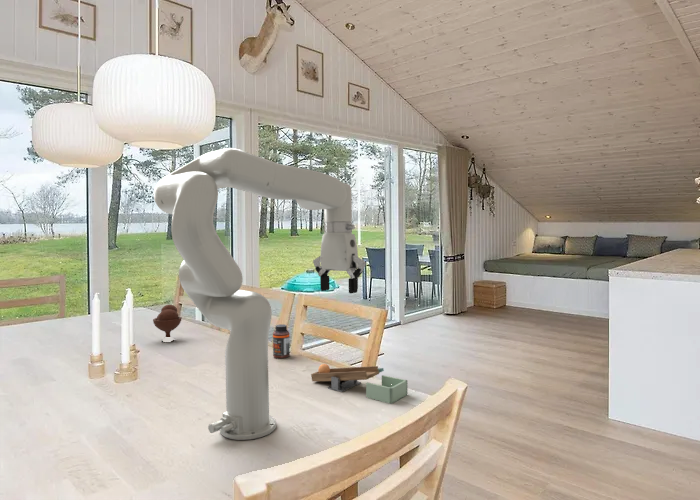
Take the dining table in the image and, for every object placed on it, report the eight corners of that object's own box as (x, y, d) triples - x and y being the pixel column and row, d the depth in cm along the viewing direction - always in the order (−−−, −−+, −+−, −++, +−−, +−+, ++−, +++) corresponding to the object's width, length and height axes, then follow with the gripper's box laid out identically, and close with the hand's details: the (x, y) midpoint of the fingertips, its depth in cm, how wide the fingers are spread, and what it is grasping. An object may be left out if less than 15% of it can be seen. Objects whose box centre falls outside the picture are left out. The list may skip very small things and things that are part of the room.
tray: (391, 403, 122) (391, 388, 122) (366, 397, 127) (366, 382, 127) (407, 394, 128) (407, 380, 128) (382, 389, 133) (382, 375, 133)
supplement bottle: (269, 357, 168) (269, 326, 167) (279, 353, 173) (279, 323, 172) (283, 359, 165) (282, 327, 164) (293, 355, 170) (292, 324, 170)
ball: (325, 377, 138) (324, 365, 138) (316, 376, 141) (315, 365, 141) (332, 374, 141) (331, 363, 141) (323, 373, 143) (322, 362, 143)
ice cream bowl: (152, 339, 197) (151, 304, 196) (181, 337, 202) (180, 302, 201) (154, 345, 188) (152, 308, 187) (183, 342, 192) (182, 305, 192)
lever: (366, 379, 128) (364, 371, 128) (312, 381, 140) (311, 374, 140) (386, 370, 136) (384, 363, 136) (333, 373, 148) (332, 366, 148)
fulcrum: (341, 392, 131) (341, 379, 131) (327, 388, 134) (327, 376, 134) (361, 383, 139) (360, 371, 138) (347, 380, 142) (347, 368, 141)
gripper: (372, 228, 126) (372, 292, 127) (322, 229, 136) (323, 288, 137) (355, 228, 120) (356, 295, 121) (305, 229, 130) (305, 291, 131)
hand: (338, 291), depth 129 cm, fingers open, 9 cm apart
